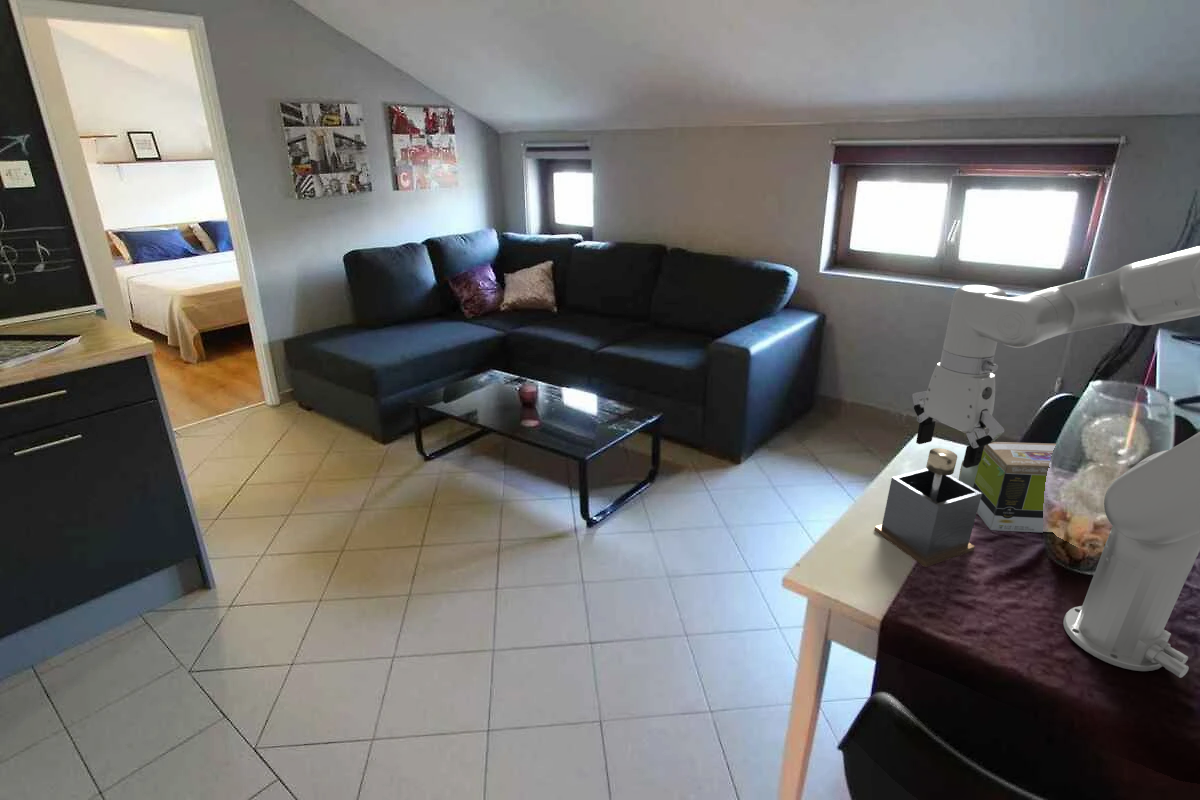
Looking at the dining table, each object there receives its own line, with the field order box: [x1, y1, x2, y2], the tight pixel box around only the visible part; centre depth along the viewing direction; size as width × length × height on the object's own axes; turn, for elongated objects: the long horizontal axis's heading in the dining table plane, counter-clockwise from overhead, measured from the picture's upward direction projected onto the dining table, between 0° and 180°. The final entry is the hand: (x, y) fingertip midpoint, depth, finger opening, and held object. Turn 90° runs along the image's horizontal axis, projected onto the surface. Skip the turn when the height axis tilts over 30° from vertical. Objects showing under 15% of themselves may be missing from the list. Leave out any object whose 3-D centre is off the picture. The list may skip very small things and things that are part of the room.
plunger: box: [925, 447, 958, 501], centre depth 118 cm, size 8×8×17 cm
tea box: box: [973, 441, 1057, 533], centre depth 126 cm, size 15×10×15 cm, turn 84°
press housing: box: [873, 468, 982, 568], centre depth 120 cm, size 12×12×12 cm
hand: (946, 453), depth 114 cm, fingers open, 9 cm apart
